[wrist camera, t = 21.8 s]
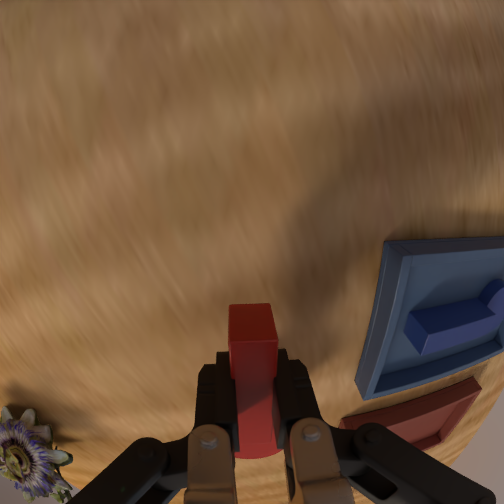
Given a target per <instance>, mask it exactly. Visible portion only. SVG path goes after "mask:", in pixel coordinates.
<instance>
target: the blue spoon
mask: <svg viewBox="0 0 504 504" xmlns="http://www.w3.org/2000/svg"><path fill="white" fill-rule="evenodd" d="M503 319H504V281H502V280H501V279H495V280H493V281H491V282H490V283H489V284H488V285H487V286H486V287H485V288H484V289H483V291H482V292H481V293H480V295H479V297H478V298H472V299H468V300H464V301H459V302H455V303H450V304H446V305H441V306H436V307H431V308H426V309H421V310H416V311H410V312H409V315H408V318H407V322H406V325H405V328H404V332H403V333H404V334H405V335H406V337H407V338H408V339H409V341H410V342H411V343H412V345H413V346H414V348H415V349H416V350H417V352H418V353H419V354H420V356H423V355H426V354H430V353H433V352H437V351H440V350H443V349H446V348H450V347H453V346H456V345H459V344H462V343H465V342H467V341H470V340H473V339H476V338H478V337H481V336H484V335H486V334H488V333H489V332H490V331H492V330H493V329H495V328H496V327H497V326H498V325H499V324H500V323H501V321H502V320H503Z"/></svg>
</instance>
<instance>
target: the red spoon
mask: <svg viewBox="0 0 504 504" xmlns="http://www.w3.org/2000/svg"><path fill="white" fill-rule="evenodd" d="M228 346H229V360H230V373H231V379H235V384H236V397H237V410H238V427H239V444H240V452H235V458H242V459H257V458H264V457H268V456H271V455H274V454H276V453H278V452H280V451H281V450H283V449H277V446H276V439H275V433H274V426H273V420H272V397H273V380H274V377H276V374H277V358H278V336H277V332H276V327H275V323H274V318H273V314H272V310H271V305H270V303H259V304H231V305H229V324H228Z"/></svg>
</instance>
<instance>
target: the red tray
mask: <svg viewBox="0 0 504 504" xmlns="http://www.w3.org/2000/svg"><path fill="white" fill-rule="evenodd" d="M481 390H482V388H481V386H480V385H479V384H478V382H477V381H476V380H475V378H474V377H471V378H469V379H467V380H464V381H462V382H460V383H457V384H455V385H453V386H450V387H448V388H445V389H442V390H440V391H437V392H434V393H432V394H429V395H426V396H423V397H420V398H417V399H414V400H411V401H408V402H405V403H402V404H398V405H395V406H392V407H388V408H384V409H381V410H377V411H373V412H369V413H365V414H361V415H356V416H352V417H347V418H342V420H341V422H340V425H339V428H340V429H353V430H356V429H357V428H358V427H359V426H361V425H363V424H365V423H370V422H374V423H379V424H381V425H383V426H385V427H386V428H388V429H389V430H391V431H392V432H394V433H395V434H397V435H398V436H400V437H401V438H403V439H404V440H406V441H407V442H409V443H410V444H412V445H413V446H415V447H417V448H418V449H420V450H421V451H425V450H428V449H430V448H432V447H434V446H437V445H439V444H441V443H443V442H444V441H445V439H446V438H447V437H448V436H449V435H450V433H451V432H452V431H453V430H454V428H455V427H456V426H457V424H458V423H459V422H460V420H461V419H462V418H463V416H464V415H465V414H466V412H467V411H468V409H469V408H470V407H471V405H472V404H473V402H474V401H475V399H476V398H477V396H478V395H479V393H480V392H481Z"/></svg>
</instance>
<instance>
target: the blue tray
mask: <svg viewBox="0 0 504 504" xmlns="http://www.w3.org/2000/svg"><path fill="white" fill-rule="evenodd" d="M495 279H501V280H502V281H504V236H499V237H473V238H448V239H423V240H400V241H384V247H383V254H382V261H381V267H380V273H379V279H378V285H377V290H376V295H375V300H374V305H373V310H372V315H371V319H370V324H369V328H368V332H367V336H366V340H365V344H364V348H363V352H362V356H361V359H360V363H359V367H358V370H357V374H356V377H355V383H356V385H357V387H358V390H359V392H360V394H361V396H362V399H363V401H365V400H369V399H374V398H378V397H382V396H386V395H389V394H393V393H397V392H400V391H404V390H407V389H410V388H414V387H417V386H420V385H423V384H426V383H429V382H432V381H435V380H438V379H441V378H443V377H446V376H449V375H451V374H454V373H457V372H459V371H462V370H464V369H466V368H469V367H471V366H474V365H476V364H478V363H480V362H483V361H485V360H487V359H489V358H491V357H493V356H496V355H498V354H500V353H502V352H503V351H504V319H503V320H502V321H501V323H500V324H499V325H498V326H497V327H496V328H495V329H493V330H492V331H490V332H489V333H488V334H486V335H484V336H481V337H478V338H476V339H473V340H470V341H467V342H465V343H462V344H459V345H456V346H453V347H450V348H446V349H443V350H440V351H437V352H433V353H430V354H426V355H423V356H420V354H419V353H418V352H417V350H416V349H415V348H414V346H413V345H412V343H411V342H410V341H409V339H408V338H407V337H406V335H405V334H404V333H403V332H404V328H405V325H406V322H407V318H408V315H409V312H410V311H416V310H421V309H426V308H431V307H436V306H441V305H446V304H450V303H455V302H459V301H464V300H468V299H472V298H478V297H479V295H480V293H481V292H482V291H483V289H484V288H485V287H486V286H487V285H488V284H489V283H490V282H491V281H493V280H495Z"/></svg>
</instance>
